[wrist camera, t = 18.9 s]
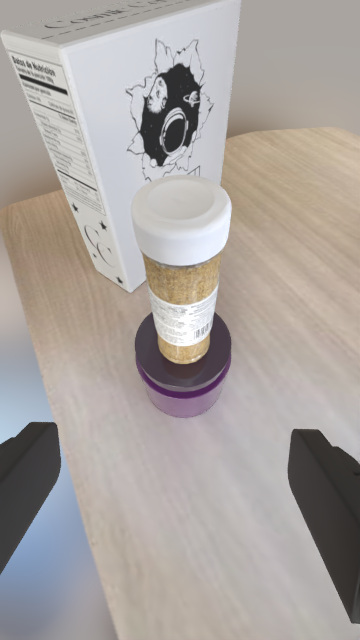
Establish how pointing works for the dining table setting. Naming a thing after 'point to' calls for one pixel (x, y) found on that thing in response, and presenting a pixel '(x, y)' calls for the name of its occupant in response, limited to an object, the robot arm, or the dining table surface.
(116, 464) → the dining table surface
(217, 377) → the plum jar
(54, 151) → the cereal box
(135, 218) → the sprinkles bottle
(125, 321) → the dining table surface
